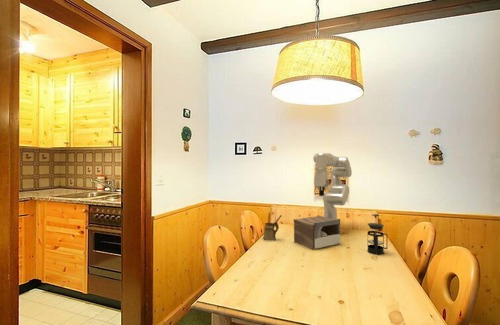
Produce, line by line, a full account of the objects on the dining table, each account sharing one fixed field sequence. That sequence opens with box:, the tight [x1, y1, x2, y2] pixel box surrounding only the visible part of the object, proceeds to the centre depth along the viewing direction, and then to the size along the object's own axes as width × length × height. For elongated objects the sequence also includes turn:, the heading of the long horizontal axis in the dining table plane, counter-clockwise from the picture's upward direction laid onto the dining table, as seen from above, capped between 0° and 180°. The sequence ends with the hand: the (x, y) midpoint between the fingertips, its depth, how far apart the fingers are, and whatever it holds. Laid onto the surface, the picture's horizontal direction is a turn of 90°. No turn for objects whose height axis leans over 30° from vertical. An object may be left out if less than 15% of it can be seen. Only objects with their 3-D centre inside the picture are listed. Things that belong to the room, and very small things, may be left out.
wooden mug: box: [262, 214, 282, 241], centre depth 189 cm, size 9×14×18 cm, turn 72°
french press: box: [366, 213, 388, 256], centre depth 161 cm, size 12×9×23 cm
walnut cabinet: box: [293, 215, 338, 250], centre depth 181 cm, size 25×18×16 cm
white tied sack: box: [314, 227, 327, 240], centre depth 180 cm, size 12×8×11 cm
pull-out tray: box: [314, 218, 341, 249], centre depth 179 cm, size 22×18×16 cm
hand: (321, 195), depth 191 cm, fingers closed
